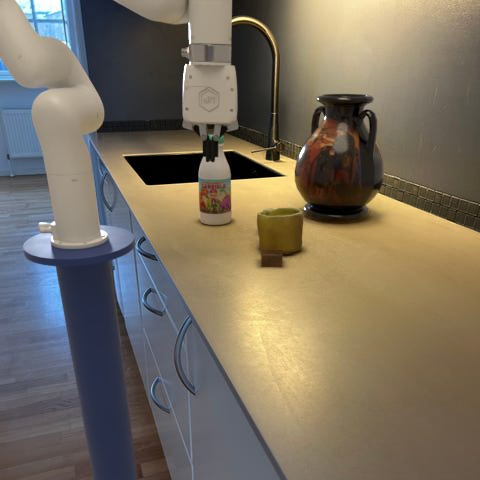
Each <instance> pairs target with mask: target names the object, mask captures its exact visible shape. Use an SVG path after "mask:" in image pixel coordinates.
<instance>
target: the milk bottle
mask: <svg viewBox="0 0 480 480" xmlns="http://www.w3.org/2000/svg"><path fill="white" fill-rule="evenodd" d="M208 135H209V138H210V139H211V140H212V136H213V134H208ZM224 142H225V137H224V135H223V136H222V137H221V138H220V139H219V140H218V157H215V161H214V162H211V161H209V162H206V157H203V156H202V158H201V161H200V164H199V169H198V204H199V205H198V207H199V208H198V209H199V221H200V223H202V224H204V225H207V226H208V225H210V226H220V225H222V226H223V225H226V224H229V223H231V220H232V173H231V168H230V165H229V163H228V160H227V158H226V155H225V151H224V146H225V144H224Z"/></svg>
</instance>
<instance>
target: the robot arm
mask: <svg viewBox="0 0 480 480" xmlns="http://www.w3.org/2000/svg"><path fill="white" fill-rule="evenodd" d="M113 1H114V2H116V3H117V4H119V5H121V6H123V7H125V8H127V9H128V10H130V11H131V12H133V13H135V14H137V15H139V16H141V17H142V18H145V19H147V20H149V21H153V22H159V23H164V24H169V25H182V24H183V25H184V24H188V40H189V41H188V42H189V43H188V46H187V47H185V48H184V47H183V48H181V50H180V51H181V52H180V53H181V57H183V58H184V57H185V58H186V59H187V60H188V61H189V63H188V64H187V63H185V65H184V70H183V79H182V118H183V120H182V125H181V126H182V128H183V129H186V130H189V131H193V132H195V134H196V135H197V136H198V137H199V138H200V139H201V141H202V158H203V157H206V162H209V161H211V162H214V161H215V157H218V140H219V139H220V138H221V137H222V136H224V135H225V134H226V133H228V132H232V131H237V130H238V129H239V122H238V81H237V71H236V66H235V65H232V28H233V27H232V26H233V25H232V24H233V23H232V22H233V21H232V20H233V19H232V18H233V0H113ZM0 60H1V62H2V63H3V66H5V68H6V70H7V72H8V73H9V75H10V76H11V77H12V79H13V80H14V81H15V82H16V83H17V84H18V85H20V86H21V87H23V88H27V89H47V90H44V91H42V92H40V93H39V94H38V95H37V96H36V97H35V98H34V100H33V103H32V105H31V111H30V112H31V113H30V114H31V121H32V125H33V127H34V131H35V134H36V137H37V138H38V143H39V145H40V149H41V153H42V157H43V158H42V159H43V162H44V168H45V169H44V170H45V173H46V180H47V184H48V191H49V195H50V197H49V198H50V203H51V209H52V215H53V221H52V222H50V223H49V222H39V223H38V224H37V229H38V231H39V234H40V233H51V235H53V236H52V237H51V238H50V241H51V245H52V246H54V247H56V248H60V249H68V250H75V249H86V248H91V247H96V246H99V245H101V244H103V243H105V242H106V241H107V240H108V233H107V232H105V231H103V230H100V225H101V224H100V215H99V208H98V201H97V194H96V183H95V178H94V170H93V163H92V157H91V153H90V150H89V147H88V145H87V143H86V141H85V137H84V136H85V135H88V134H91V133H94V132H96V131H98V130H99V129H100V128H101V127H102V125H103V123H104V120H105V107H104V104H103V102H102V99H101V97H100V94H99V92H98V91H97V90H96V87H95V86H94V84H93V83H92V81H91V79H90V77H89V76H88V74H87V72H86V71H85V69H84V67H83V66H82V64H81V63H80V61H79V59H78V58H77V56H76V54H75V53H74V52H73V50H72V48H70V47H69V46H68V45H67V44H66V43H65V42H63V41H61V40H60V39H58V38H56V37H53V36H47V35H40V34H39V33H38V32H37V31H36V30H35V28H34V26H33V25H32V23H30V21H29V19H28V18H27V15H26V14H25V12H24V11H23V9H22V7H21V6H20V5H19V3H18V2H17V1H16V0H0ZM208 125H214V127H213V134H212V135H213V136H212V140H211V139H210V138H209V135H210V134H209V131H208Z"/></svg>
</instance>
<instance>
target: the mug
mask: <svg viewBox="0 0 480 480" xmlns="http://www.w3.org/2000/svg"><path fill="white" fill-rule="evenodd" d="M256 227H257V233H258V241H259V247H260V249H261V250H282V255H287V254H288V255H289V254H293V253H295V252H299V251H301V250H302V247H303V231H304V212H303V210H302V209H300V208H294V207H277V208H271V207H268V208H264V209H263V210H261V211H259V212H257V214H256Z"/></svg>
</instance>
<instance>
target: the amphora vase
mask: <svg viewBox="0 0 480 480" xmlns="http://www.w3.org/2000/svg"><path fill="white" fill-rule="evenodd" d="M374 99H375V97H374V96H373V95H371V94H370V95H369V94H364V93H363V94H362V93H326V94H320V95H318V96H317V97H316V101H317V102H318V103H320V104H322V105H319V106H318V107H316V108H315V110H314V112H313V114H312V119H311V123H310V124H311V127H310V128H311V129H310V136H309V137H308V138H307V139H306V141H304V143H303V145H302V147H301V148H300V151H299V152H298V156H297V157H296V162H295V167H294V183H295V186H296V190H297V191H298V193H299V194H300V196H301V198H302V199H303V200H304V202H306V203H304V206H303V207H302V212H303V214H304V215H305V216H307V217H308V218H310V219H311V220H312V219H313V220H314V221H319V222H324V223H331V224H332V223H334V224H347V223H349V224H350V223H355V222H359V221H361V220H365V219H366V218H367V217H368V216H369V214H370V210H369V207H368V206H367V205H368V204H369V203H370V202H371V201H372V200H374V199H375V198H376V196H377V195H378V194H379V193H380V190H381V189H382V186H383V183H384V177H385V164H384V162H385V161H384V157H383V151H382V149H381V146H380V143H379V142H378V140H377V134H378V119H377V115H376V112H374V110H372V109H365V108H366V107H365V106H367V105H369V104H371V103H373V102H374ZM322 114H323V120H321V123H320V118H321V115H322ZM366 117H367V118H368V127H367V125H366V123H365V121H364V119H365V118H366ZM319 123H320V124H319Z"/></svg>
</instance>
